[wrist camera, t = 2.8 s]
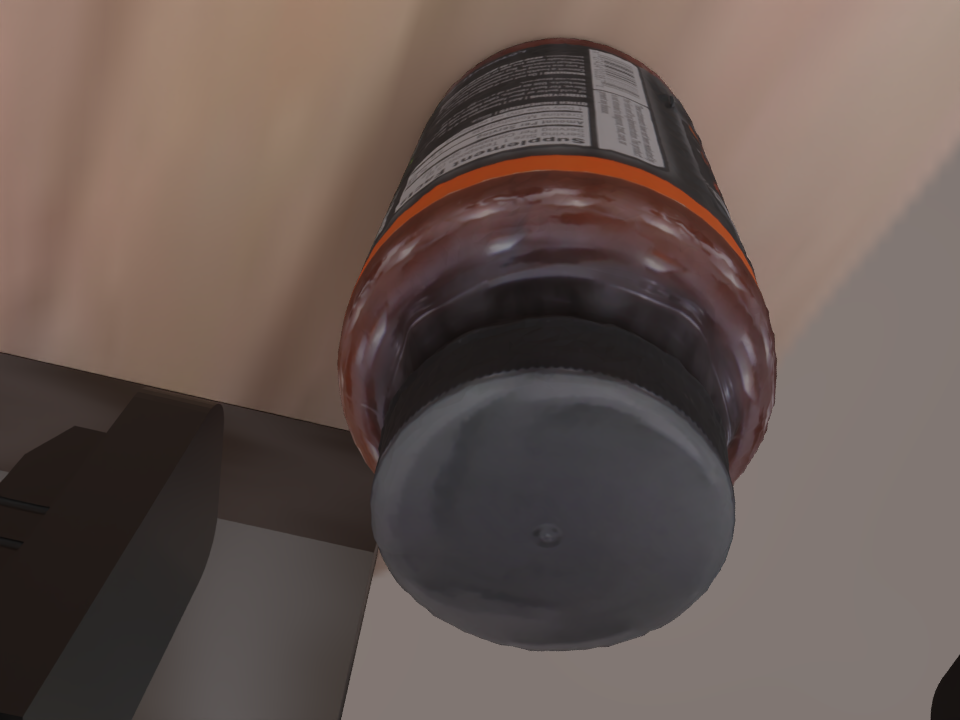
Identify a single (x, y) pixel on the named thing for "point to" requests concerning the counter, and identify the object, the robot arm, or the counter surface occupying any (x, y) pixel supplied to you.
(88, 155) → the counter surface
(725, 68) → the counter surface
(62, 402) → the riser
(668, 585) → the supplement bottle
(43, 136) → the counter surface
